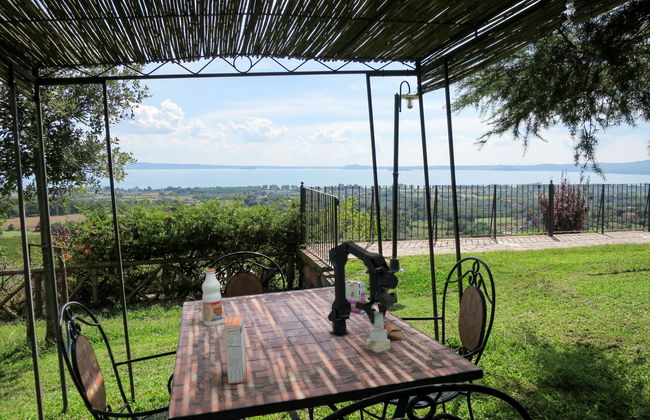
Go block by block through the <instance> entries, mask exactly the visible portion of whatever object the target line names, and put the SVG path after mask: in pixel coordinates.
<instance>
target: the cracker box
mask: <svg viewBox="0 0 650 420" xmlns="http://www.w3.org/2000/svg"><path fill="white" fill-rule="evenodd" d="M223 328H224V340H225V341H224V342H225V355H226V356H225V357H226V370H227V371H226V372H227V373H226V374H227V383H228V385H230V384H240V383H241V384H242V383H245V378H246V374H247V368H248V367H247V366H248V365H247V350H246V338H245V337H246V335H245V318H244V314H230V315H228V316H227V319H226V322H225V325H224V327H223Z"/></svg>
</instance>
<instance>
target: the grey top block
mask: <svg viewBox="0 0 650 420" xmlns="http://www.w3.org/2000/svg"><path fill="white" fill-rule="evenodd" d="M369 335H370V336H369V337H370V338H369V339H370V341H375V342H383V341H385V340H386V339H387V329H384V328H382V327H374V328H373V329H371V330H370V331H369Z"/></svg>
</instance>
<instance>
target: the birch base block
mask: <svg viewBox="0 0 650 420" xmlns="http://www.w3.org/2000/svg"><path fill="white" fill-rule="evenodd" d="M365 346H366V347H365V348H366V349H368V350H370V351H371V352H374V353H381V352H384V351H387V350H390V349H391V341H390V340H389V339H386V340H385V341H383V342H375V341H370V338H366V339H365Z"/></svg>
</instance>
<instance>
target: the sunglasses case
mask: <svg viewBox="0 0 650 420" xmlns="http://www.w3.org/2000/svg"><path fill="white" fill-rule="evenodd" d="M383 324H384V326H382V327H383V328H382V329H387V339H389V340H390V342H406V340H407V339H406V338H405V335H404V333H403V331H402V328H401V327H400V326H396V325H394V324H393V323H390V322H385V323H383Z"/></svg>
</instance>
